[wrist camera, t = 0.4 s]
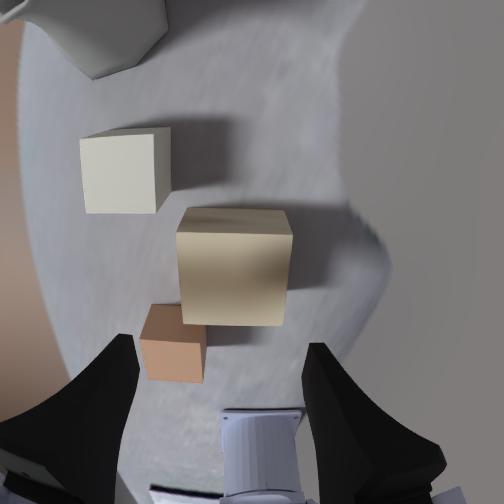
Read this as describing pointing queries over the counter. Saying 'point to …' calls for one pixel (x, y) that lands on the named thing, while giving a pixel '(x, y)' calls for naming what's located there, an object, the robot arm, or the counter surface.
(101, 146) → the cream cube
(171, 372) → the brown cube
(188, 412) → the counter surface
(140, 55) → the flask
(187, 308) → the beech block
